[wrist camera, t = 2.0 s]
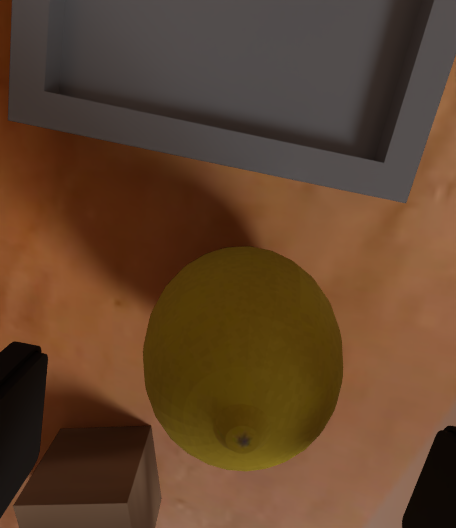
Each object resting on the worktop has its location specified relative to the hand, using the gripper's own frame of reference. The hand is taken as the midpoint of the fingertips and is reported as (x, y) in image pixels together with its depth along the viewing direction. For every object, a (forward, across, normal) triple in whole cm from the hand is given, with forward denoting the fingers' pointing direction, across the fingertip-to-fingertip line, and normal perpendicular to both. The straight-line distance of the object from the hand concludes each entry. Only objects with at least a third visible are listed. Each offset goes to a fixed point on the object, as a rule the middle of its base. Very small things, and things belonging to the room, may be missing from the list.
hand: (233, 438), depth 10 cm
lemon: (+7, 0, -1) cm, 7 cm away
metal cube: (+7, +4, +8) cm, 11 cm away
